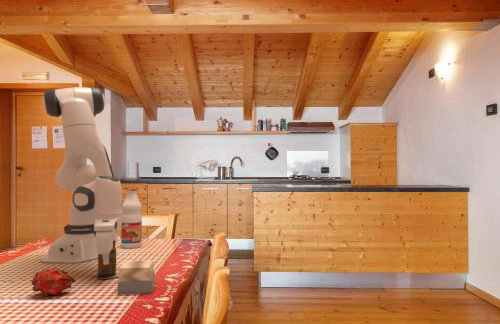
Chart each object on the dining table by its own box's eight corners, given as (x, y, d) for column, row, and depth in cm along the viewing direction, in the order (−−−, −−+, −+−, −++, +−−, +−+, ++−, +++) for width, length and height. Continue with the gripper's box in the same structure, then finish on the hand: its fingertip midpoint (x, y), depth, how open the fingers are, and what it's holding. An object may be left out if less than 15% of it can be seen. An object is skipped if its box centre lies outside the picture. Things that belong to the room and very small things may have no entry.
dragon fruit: (28, 300, 110) (71, 303, 113) (23, 290, 104) (70, 293, 107) (37, 272, 116) (78, 275, 119) (33, 261, 109) (77, 265, 112)
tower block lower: (117, 296, 111) (117, 282, 111) (122, 285, 121) (122, 273, 121) (152, 294, 113) (152, 280, 113) (154, 284, 123) (154, 271, 123)
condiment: (113, 270, 136) (113, 237, 136) (122, 276, 129) (122, 241, 129) (92, 274, 131) (92, 240, 131) (101, 280, 124) (101, 244, 125)
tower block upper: (118, 281, 112) (118, 268, 112) (125, 273, 121) (125, 260, 121) (149, 280, 113) (149, 267, 113) (153, 272, 122) (153, 260, 122)
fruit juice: (145, 245, 182) (146, 188, 182) (133, 249, 173) (133, 189, 173) (129, 244, 185) (130, 187, 185) (116, 248, 176) (117, 188, 177)
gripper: (104, 218, 141) (104, 254, 141) (92, 226, 121) (92, 269, 120) (122, 217, 142) (121, 254, 142) (113, 226, 122) (113, 268, 122)
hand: (108, 261), depth 131 cm, fingers closed on condiment, 6 cm apart
